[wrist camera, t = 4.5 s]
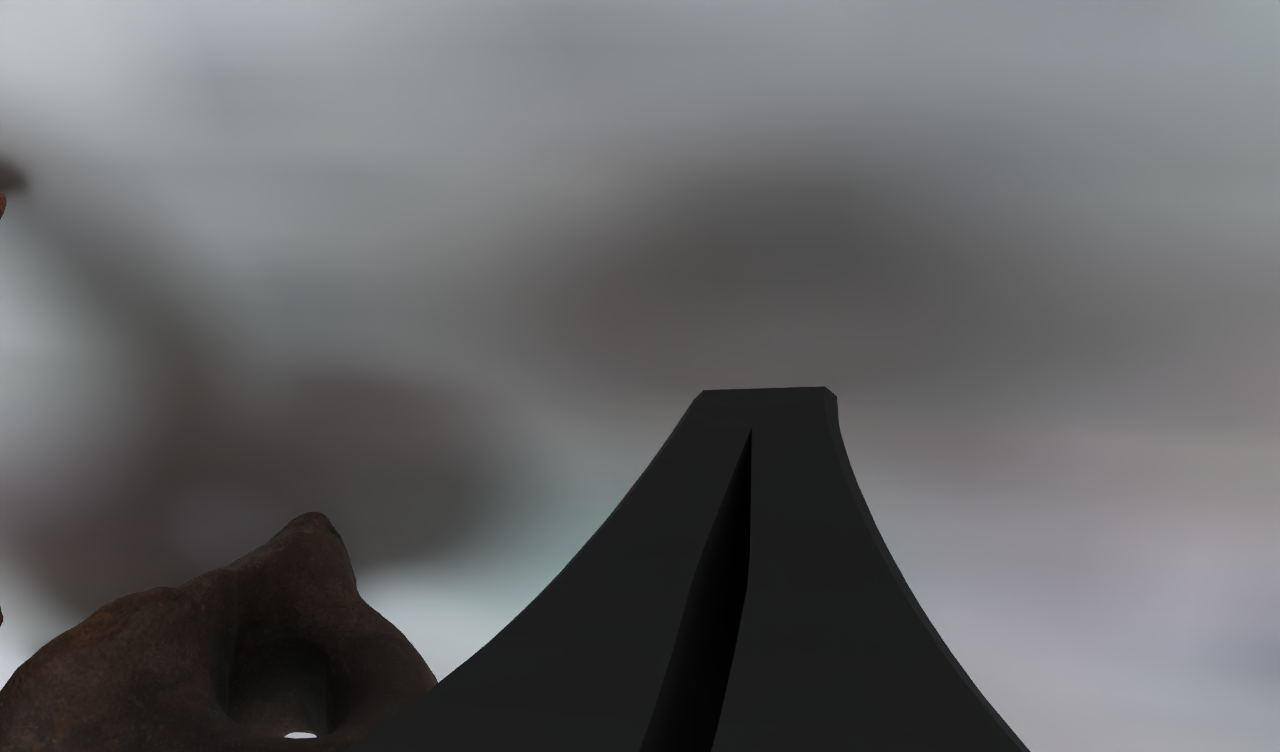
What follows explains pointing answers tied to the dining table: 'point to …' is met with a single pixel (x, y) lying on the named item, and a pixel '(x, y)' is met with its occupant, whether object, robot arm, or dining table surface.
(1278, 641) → the dining table surface
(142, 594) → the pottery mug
